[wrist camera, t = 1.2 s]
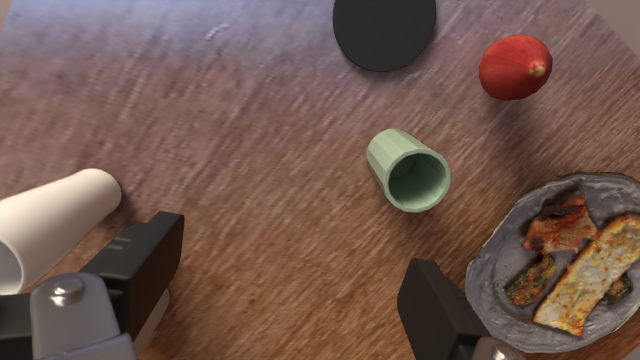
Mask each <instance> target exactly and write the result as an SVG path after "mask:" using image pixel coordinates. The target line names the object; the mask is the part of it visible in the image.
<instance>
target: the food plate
mask: <svg viewBox="0 0 640 360" xmlns="http://www.w3.org/2000/svg"><path fill="white" fill-rule="evenodd" d="M557 177H558V175H557ZM557 177H556V178H557ZM558 178H562V179H560V180H550V181H548V182H546V183H545V185H544V186H543V187H541V188H539V189H538V188H534V189H531V190H530V191H529V192H528V193H526V194H525V195H524V196H523V197H522V198H521V199H520V200H519V201H520V202H519V201H518V202H519V203H515V204H517V205H516V206H515V207H513V208H512V210H511V211H510V212H509V214H508V215H507V216H506V217H505V219H504V220H503V221H502V222H501V223H500V224H499V225H498V227H497V228H495V230H494V231H493V235H492V236H491V237H490V238H489V240H488V241H487V242H486V243H485V244H484V245H483V247H482V250H481V251H480V253H479V256H477V257H476V258H475V259H474V260H475V261H474V260H473V261H474V262H473V261H471V262H470V263H469V264H468V267H467V271H466V276H465V277H466V278H465V292H466V298H467V299H468V301H469V303H470V304H471V306H472V307H473V308H472V309H473V310H475V312H476V313H477V315H478V316H479V318H480V319H481V321H482V322H483V324H484V325H485V327H486V328H487V330H488V331H489V332H490V334H491V335H492V336H493V337H495V338H498V339H500V340H503V341H505V342H507V343H508V344H510V345H512V346H513V347H515V348H517V349H519V350H521V351H524V352H526V353H537V352H538V353H542V352H545V353H550V354H551V353H556V352H566V351H571V350H575V349H576V350H577V349H578V348H582V347H584V346H586V345H590V344H591V343H593V342H594V341H595V340H597V339H599V338H601V337H603V336H605V335H607V334H609V333H610V332H611V331H612V330H613V329H614V328H616V327H618V328H616V329H615V331H616V330H617V329H619V328H620V327H621V326H622V325H623V324H624V323H625V322H626V321H627V320H628V319H629V318H630V317H631V316H632V315H633V314H634V313H635V312H636V311H637V310H638V309H639V307H640V182H639V181H637V180H635V179H633V178H632V177H629V176H626V175H625V174H622V173H614V172H603V173H602V172H600V173H598V172H597V173H595V172H594V173H587V172H580V171H579V172H575V173H572V174H567V175H565V176H563V177H560V176H559V177H558ZM628 316H629V317H628ZM627 317H628V318H627ZM626 318H627V319H626ZM625 319H626V320H625ZM624 320H625V321H624ZM623 321H624V322H623ZM622 322H623V323H622ZM621 323H622V324H621ZM620 324H621V325H620ZM618 325H620V326H618ZM612 333H613V332H612ZM609 335H610V334H609Z"/></svg>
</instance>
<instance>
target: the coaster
mask: <svg viewBox="0 0 640 360" xmlns="http://www.w3.org/2000/svg"><path fill="white" fill-rule="evenodd" d="M435 20H436V2H435V0H335V3H334V9H333V28H334V33H335V37H336V40H337V42H338V44H339V46H340V48H341V50H342V51H343V53H344V54H345V55H346V56H347V57H348V58H349V59H350V60H351V61H352V62H353V63H355V64H356V65H358V66H360V67H361V68H364V69H366V70H370V71H375V72H388V71H393V70H396V69H399V68H402V67H404V66H406V65H407V64H409V63H410V62H412V61H413V60H414V59H415V58H416V57H418V56H419V54H420V53H421V52H422V51H423V50H424V48H425V47H426V45H427V43H428V42H429V40H430V38H431V35H432V33H433V29H434V26H435Z"/></svg>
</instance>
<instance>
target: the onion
mask: <svg viewBox="0 0 640 360" xmlns="http://www.w3.org/2000/svg"><path fill="white" fill-rule="evenodd" d="M552 60H553V58H552V56H551V55H550V53H549V50H548V48H547V46H546V45H545V44H543V43H542V42H541V41H540V40H539V39H537V38H535V37H531V36H527V35H515V36H510V37H506V38H503V39H501V40H500V41H498V42H496V43H495V44H493V45H492V46H491V47H490V48H489V49H488V50H487V51H486V53H485V54H484V55H483V58H482V60H481V63H480V65H479V78H480V81H481V84H482V87H483V89H484V90H485V91H486V92H487V93H488V94H489V95H491V96H492V97H493V98H497V99H500V100H504V101H511V100H518V99H523V98H526V97H528V96H530V95H532V94H534V93H536V92H537V91H538V90H539V89H540V88H541V87H542V86H543V85H544V84H545V83H546V82H547V80H548V78H549V76H550V74H551V71H552Z"/></svg>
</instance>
